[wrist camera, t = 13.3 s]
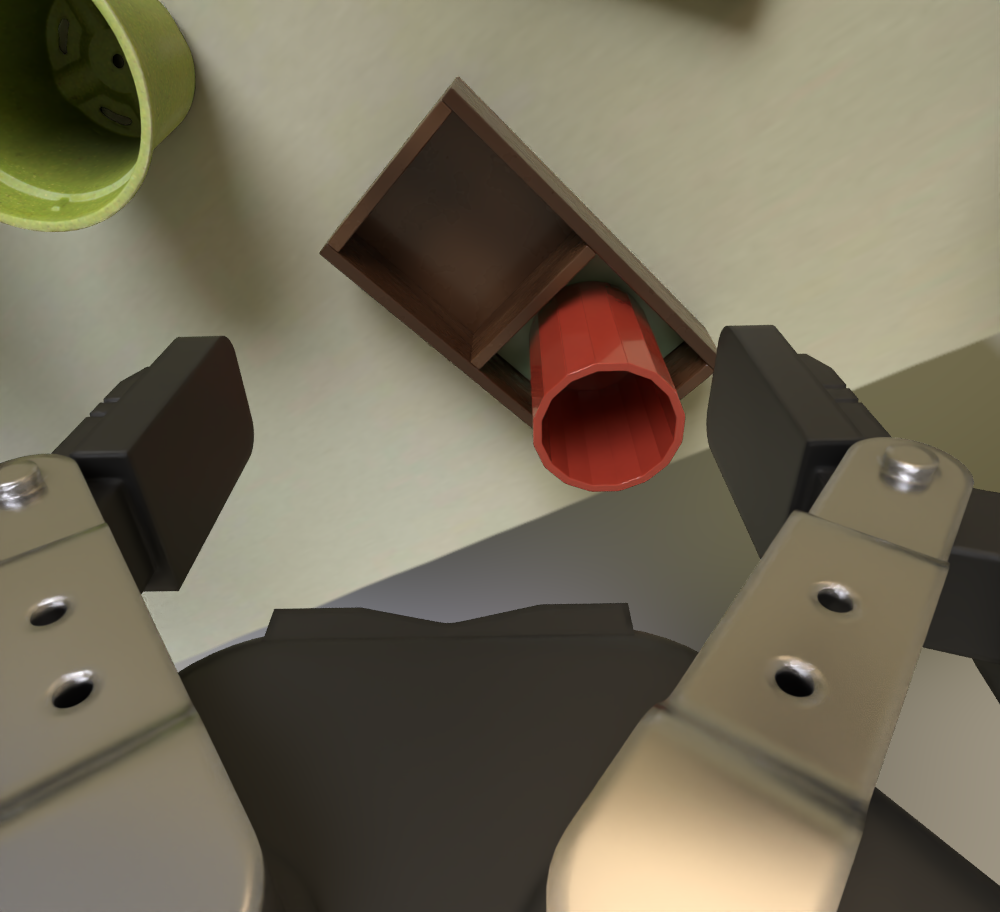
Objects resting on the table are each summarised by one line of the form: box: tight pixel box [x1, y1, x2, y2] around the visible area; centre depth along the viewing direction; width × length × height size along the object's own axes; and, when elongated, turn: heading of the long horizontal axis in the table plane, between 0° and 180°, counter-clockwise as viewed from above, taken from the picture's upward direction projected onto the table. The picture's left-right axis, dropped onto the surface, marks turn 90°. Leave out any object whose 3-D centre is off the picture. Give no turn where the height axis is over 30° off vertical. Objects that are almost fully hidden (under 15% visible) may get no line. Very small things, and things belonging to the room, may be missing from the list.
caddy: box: [320, 77, 717, 429], centre depth 33 cm, size 9×17×4 cm, turn 47°
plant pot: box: [0, 0, 195, 232], centre depth 26 cm, size 9×9×9 cm
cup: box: [529, 281, 685, 492], centre depth 32 cm, size 6×6×9 cm
